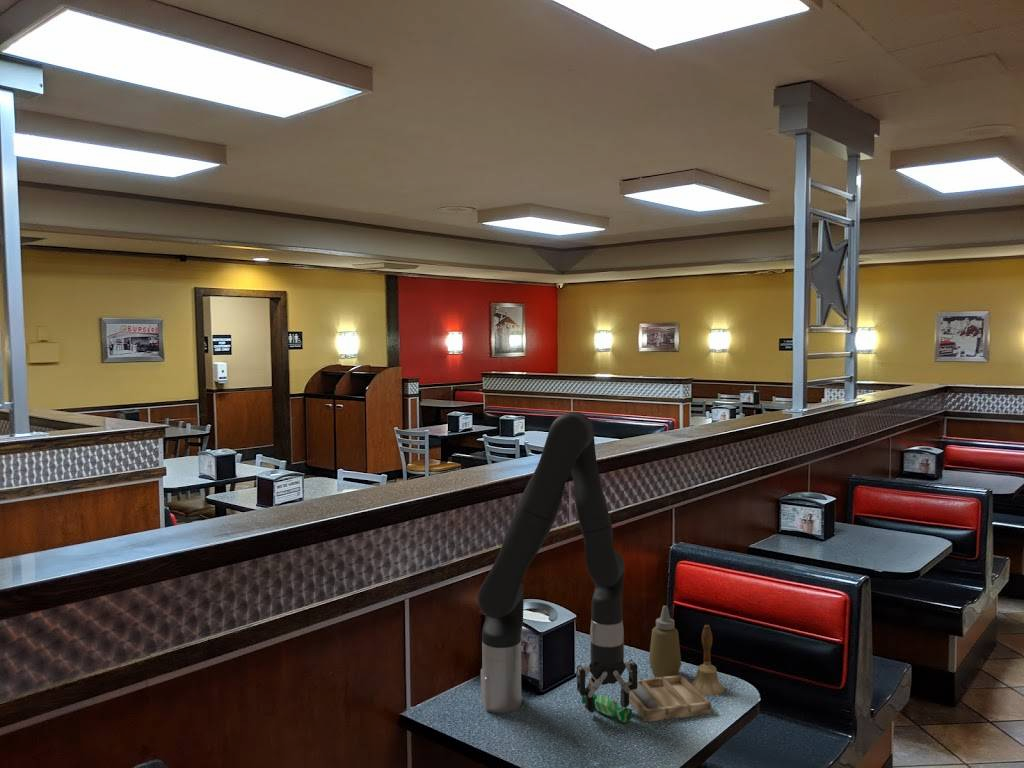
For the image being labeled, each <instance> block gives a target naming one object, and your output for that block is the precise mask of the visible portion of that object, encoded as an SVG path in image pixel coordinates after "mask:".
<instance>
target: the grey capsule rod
mask: <svg viewBox="0 0 1024 768" xmlns="http://www.w3.org/2000/svg"><path fill="white" fill-rule="evenodd" d="M633 692H634V693H635V694H636V695H637V696H638V698H639V699H640V700H641V701H642V702H643V704H644V705H645V706H646V707H647V708H648V709H651V708H657V707H658V705H657V703H656V701H655V700H654V699H653V698H652V697H651V696H650V695H649V693H648V692H647V691H646V690H645V689H644V688H643V686H642V685H641V684H640V683H639V682H638V681H637V689H635V690H634V689H633Z"/></svg>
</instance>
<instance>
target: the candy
mask: <svg viewBox="0 0 1024 768" xmlns="http://www.w3.org/2000/svg"><path fill="white" fill-rule="evenodd" d="M593 697H594V706H595V707H594V708H595V711H597V712H600V713H601V714H604V715H606V716H608V717H610V718H614V717H616V718H617V719H618V720H619V721H620V722H621V723H623V724H628V723H629V722H630V721H631V719H632V717H633V709H631V708H629V707H627V708H626V707H622V706H621V707H619V706H618V702H617V701H615V700H613V699H611V698H608V697H607V696H605V695H602V694H599V696H597V694H595V693H594V695H593ZM581 703H582V704H584V705H585V695H583V696H582V695H581Z"/></svg>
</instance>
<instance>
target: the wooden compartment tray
mask: <svg viewBox="0 0 1024 768" xmlns="http://www.w3.org/2000/svg"><path fill="white" fill-rule="evenodd" d="M624 681H625V683H628V682H629V680H624ZM637 681H638V682H639V683H640V684H641V685H642V686H643V688H644V689H645V690H646V691H647V692H648V693H649V695H650V696H651V697H652V698H653V699H654V700H655V701H656V703H657V705H658V707H657V708H651V709H648V708H647V707H646V706H645V705H644V704H643V702H642V701H641V700H640V699H639V698H638V696H637V695H636V694H635V693H634V692H633V690H631V691H630V692H629V704H630V705H631V706H632V708H633V709H634V710H635V711H636V713H637V714H638V715H639V717H641V719H642V720H643V722H644V723H648V722H647V721H649V722H655V721H656V722H657V721H664V719H665V720H671V719H672V718H673V719H679V718H678V717H680V718H685V717H687V718H688V717H692V716H693V717H694V716H700V715H706V714H711V712H712V711H711V710H712V709H711V706H712V704H711V702H710V701H709V700H708V699H707V697H705V695H702V694H701V693H700V692H699V691H698V690H697V689H696V688H695V687H694V686H693V685H692V684H691V682H690V681H689V680H688V679H687V678H686V677H685V676H684V675H682V674H677V675H676V676H666V677H657V678H656V677H651V678H650V677H649V678H641V679H637ZM621 689H622V687H621V686H620V690H621Z"/></svg>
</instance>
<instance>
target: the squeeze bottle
mask: <svg viewBox="0 0 1024 768" xmlns="http://www.w3.org/2000/svg"><path fill="white" fill-rule="evenodd" d="M675 625H676V624H675V620H674V619H673V618H671V616H670V611H669V608H668V605H662V609H661V612H660V617H658V618H656V619H655V626H654V627H653V628H652V629H651V638H650V646H649V657H648V662H649V665H650V668H651V672H652V675H653V677H654V678H656V677H666V676H676V675H679V672H680V668H681V666H682V658H681V657H682V656H681V647H680V638H679V631H678V629H677V628H676V627H675Z"/></svg>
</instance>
